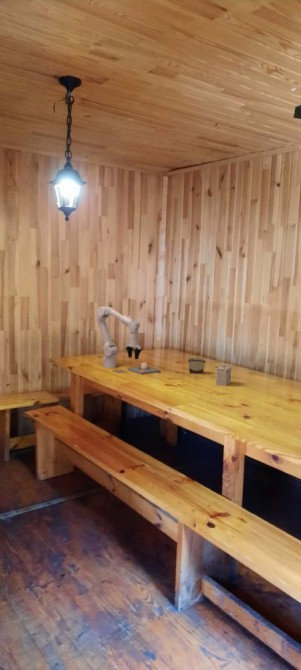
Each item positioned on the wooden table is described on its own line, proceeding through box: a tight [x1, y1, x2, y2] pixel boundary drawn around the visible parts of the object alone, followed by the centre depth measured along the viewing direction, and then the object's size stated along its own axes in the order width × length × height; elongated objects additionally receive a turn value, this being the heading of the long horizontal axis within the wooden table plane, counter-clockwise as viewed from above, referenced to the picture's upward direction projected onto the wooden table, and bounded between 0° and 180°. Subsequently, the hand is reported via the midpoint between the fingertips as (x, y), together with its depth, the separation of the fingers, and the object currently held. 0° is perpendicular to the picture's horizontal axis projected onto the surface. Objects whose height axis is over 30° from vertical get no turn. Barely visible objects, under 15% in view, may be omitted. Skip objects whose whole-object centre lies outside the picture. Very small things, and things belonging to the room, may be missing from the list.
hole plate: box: [127, 365, 161, 376], centre depth 334 cm, size 16×16×3 cm
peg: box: [140, 361, 148, 370], centre depth 334 cm, size 4×4×7 cm
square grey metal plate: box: [112, 369, 128, 374], centre depth 331 cm, size 8×8×1 cm
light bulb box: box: [215, 365, 233, 387], centre depth 309 cm, size 11×7×11 cm, turn 154°
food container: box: [187, 357, 207, 375], centre depth 339 cm, size 12×6×10 cm, turn 84°
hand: (133, 358), depth 335 cm, fingers open, 7 cm apart
